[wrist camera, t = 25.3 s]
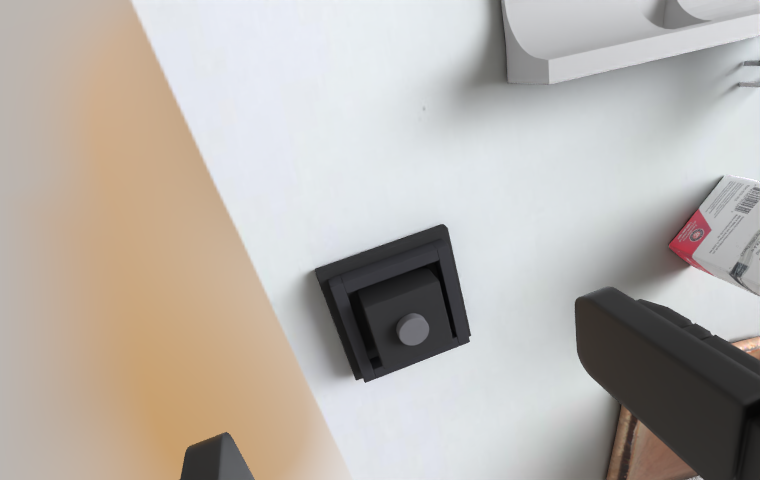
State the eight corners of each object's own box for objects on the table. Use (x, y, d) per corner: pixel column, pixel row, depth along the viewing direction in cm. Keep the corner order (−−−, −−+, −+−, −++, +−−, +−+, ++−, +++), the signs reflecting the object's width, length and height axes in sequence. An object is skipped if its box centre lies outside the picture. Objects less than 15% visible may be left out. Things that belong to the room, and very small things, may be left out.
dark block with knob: (375, 348, 37) (386, 376, 33) (356, 289, 34) (366, 314, 31) (440, 323, 38) (458, 348, 34) (425, 264, 35) (442, 285, 32)
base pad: (354, 373, 38) (359, 392, 36) (314, 268, 34) (318, 282, 32) (466, 330, 40) (478, 345, 38) (443, 223, 35) (455, 233, 33)
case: (734, 455, 58) (890, 583, 44) (599, 495, 54) (720, 651, 40) (778, 326, 50) (984, 429, 36) (624, 361, 46) (786, 493, 32)
